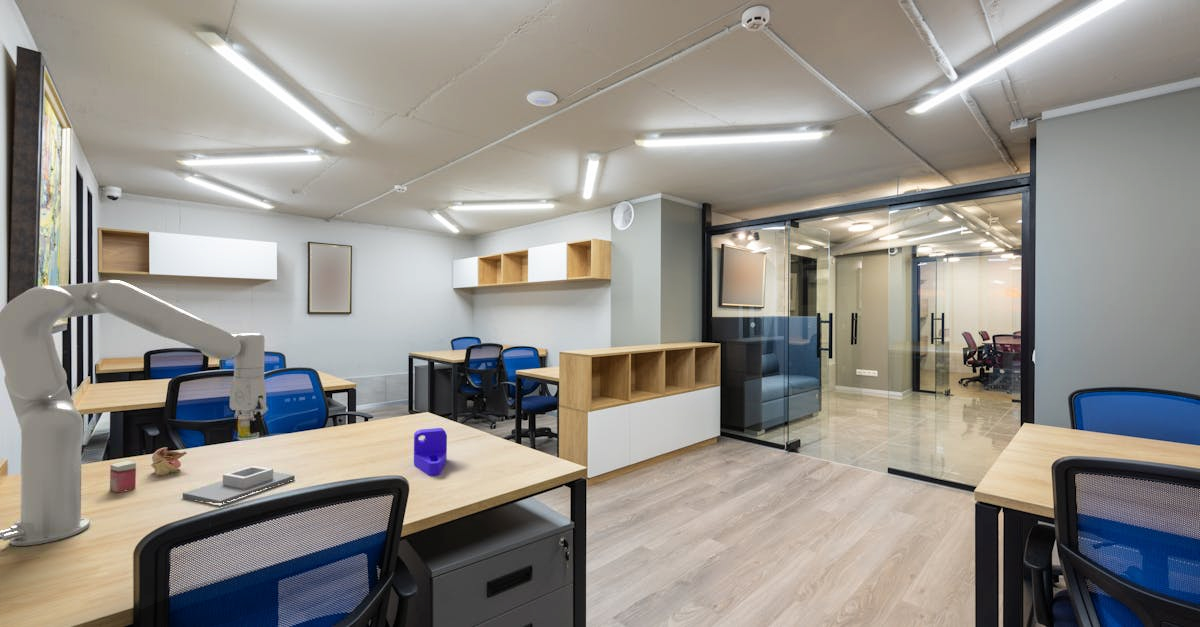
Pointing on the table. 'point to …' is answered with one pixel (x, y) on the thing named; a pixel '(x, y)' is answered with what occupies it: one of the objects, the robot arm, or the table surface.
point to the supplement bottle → (245, 427)
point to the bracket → (430, 450)
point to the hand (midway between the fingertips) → (248, 431)
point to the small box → (122, 476)
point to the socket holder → (238, 485)
